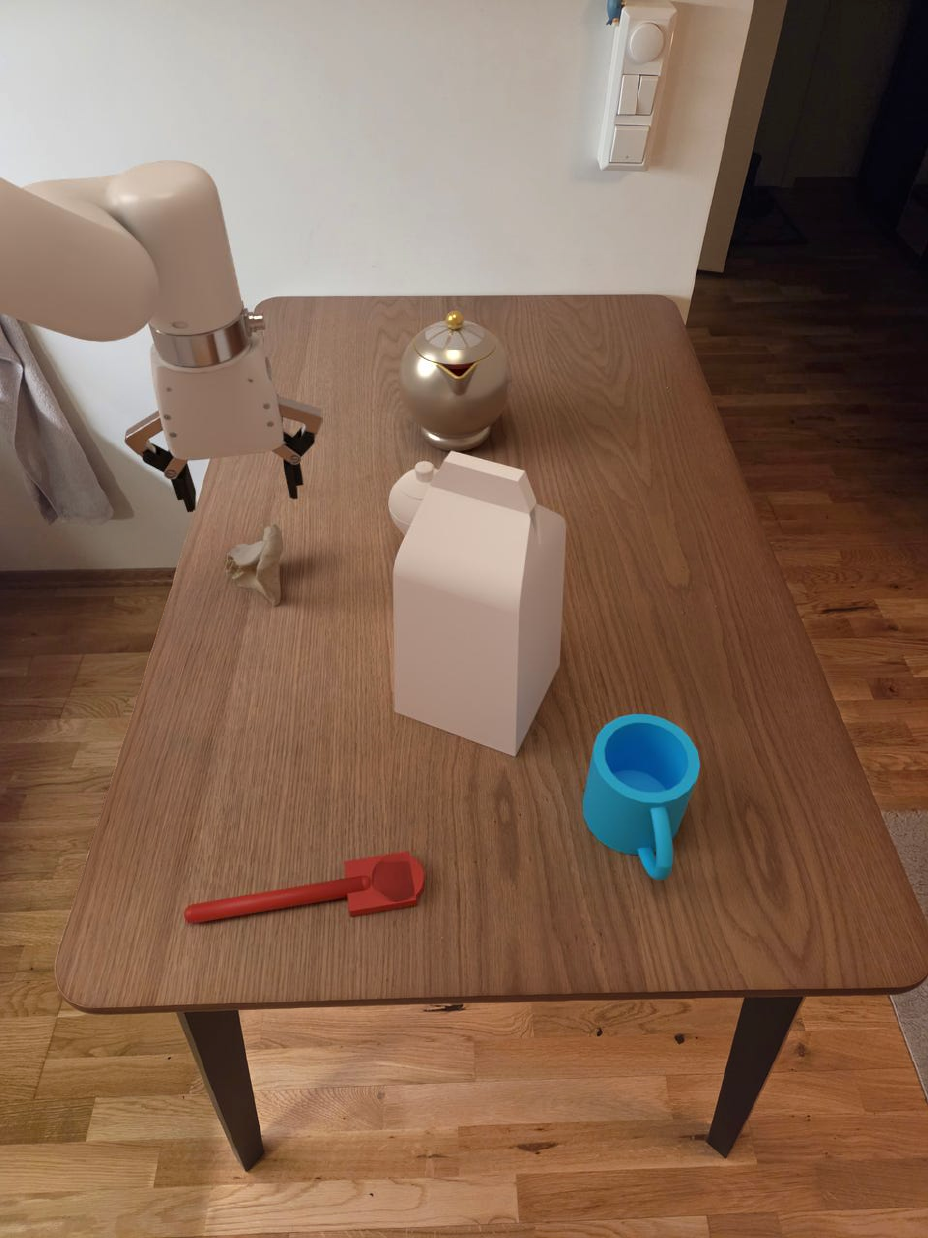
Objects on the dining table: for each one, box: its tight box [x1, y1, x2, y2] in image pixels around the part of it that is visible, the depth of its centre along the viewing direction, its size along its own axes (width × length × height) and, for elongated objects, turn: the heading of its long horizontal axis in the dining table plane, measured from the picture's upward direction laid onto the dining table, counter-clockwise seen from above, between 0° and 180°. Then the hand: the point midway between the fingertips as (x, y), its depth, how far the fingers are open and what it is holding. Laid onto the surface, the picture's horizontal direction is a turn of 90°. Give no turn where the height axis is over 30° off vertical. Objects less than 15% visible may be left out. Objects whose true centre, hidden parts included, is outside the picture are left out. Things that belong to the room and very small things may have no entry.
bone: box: [223, 523, 284, 607], centre depth 88 cm, size 9×6×10 cm
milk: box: [392, 451, 567, 758], centre depth 72 cm, size 12×12×26 cm
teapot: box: [397, 310, 513, 452], centre depth 104 cm, size 18×14×16 cm
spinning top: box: [387, 460, 439, 537], centre depth 89 cm, size 8×8×12 cm
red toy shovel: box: [183, 850, 426, 924], centre depth 67 cm, size 18×4×1 cm, turn 100°
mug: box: [582, 713, 701, 881], centre depth 68 cm, size 12×8×8 cm
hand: (243, 496), depth 82 cm, fingers open, 9 cm apart
